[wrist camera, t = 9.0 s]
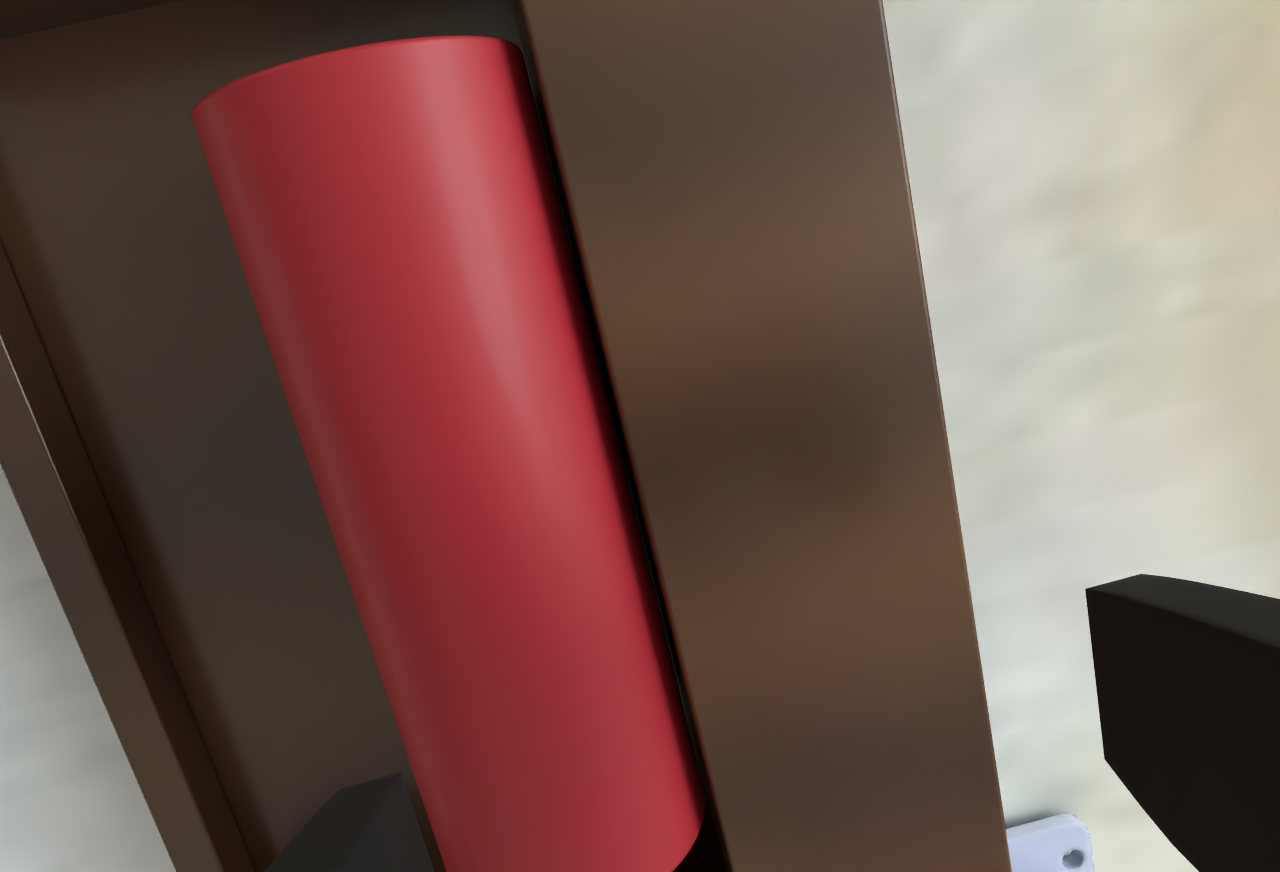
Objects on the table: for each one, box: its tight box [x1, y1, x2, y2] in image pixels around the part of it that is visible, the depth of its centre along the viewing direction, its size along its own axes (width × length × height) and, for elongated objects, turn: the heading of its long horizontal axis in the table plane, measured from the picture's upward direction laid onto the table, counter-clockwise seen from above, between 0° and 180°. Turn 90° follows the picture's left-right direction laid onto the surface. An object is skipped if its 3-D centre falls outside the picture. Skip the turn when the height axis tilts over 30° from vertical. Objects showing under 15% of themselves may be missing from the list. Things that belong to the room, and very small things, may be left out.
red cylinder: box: [192, 35, 705, 872], centre depth 13 cm, size 12×4×4 cm
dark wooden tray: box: [0, 0, 1012, 872], centre depth 14 cm, size 18×14×6 cm
